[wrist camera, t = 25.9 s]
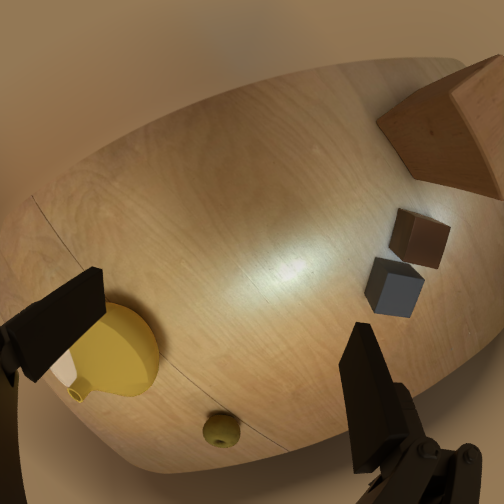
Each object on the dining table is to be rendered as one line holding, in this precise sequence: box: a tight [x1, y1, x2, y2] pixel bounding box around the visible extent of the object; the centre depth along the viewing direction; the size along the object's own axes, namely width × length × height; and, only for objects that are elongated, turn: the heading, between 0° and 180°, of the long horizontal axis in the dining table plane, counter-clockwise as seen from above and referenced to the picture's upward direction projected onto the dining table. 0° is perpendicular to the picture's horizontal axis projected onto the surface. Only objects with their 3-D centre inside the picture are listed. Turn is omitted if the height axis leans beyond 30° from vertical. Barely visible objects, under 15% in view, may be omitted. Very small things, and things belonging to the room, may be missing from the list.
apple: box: [203, 415, 240, 448], centre depth 50 cm, size 8×8×7 cm
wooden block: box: [377, 55, 504, 201], centre depth 22 cm, size 10×10×20 cm
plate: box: [50, 349, 77, 387], centre depth 55 cm, size 18×18×2 cm
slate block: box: [364, 257, 425, 318], centre depth 36 cm, size 6×6×6 cm
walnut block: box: [389, 208, 451, 269], centre depth 33 cm, size 6×6×6 cm
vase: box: [67, 302, 159, 402], centre depth 39 cm, size 18×18×19 cm
